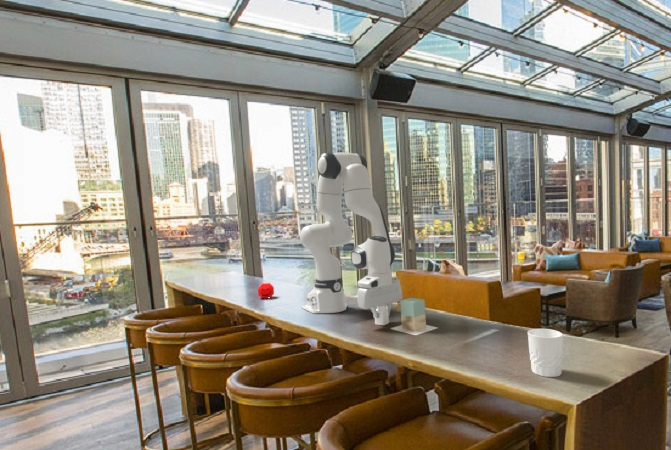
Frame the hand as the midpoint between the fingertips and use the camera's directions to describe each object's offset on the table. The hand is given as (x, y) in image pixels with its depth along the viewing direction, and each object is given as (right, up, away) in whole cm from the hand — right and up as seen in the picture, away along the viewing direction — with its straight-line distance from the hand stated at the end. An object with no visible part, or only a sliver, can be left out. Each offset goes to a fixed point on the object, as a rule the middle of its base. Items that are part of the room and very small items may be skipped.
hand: (381, 316), depth 152 cm
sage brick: (+10, +3, -8) cm, 13 cm away
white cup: (+36, -3, -49) cm, 61 cm away
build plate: (+11, -3, -8) cm, 14 cm away
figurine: (+9, -3, +17) cm, 20 cm away
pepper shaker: (0, -4, 0) cm, 4 cm away
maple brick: (+10, -2, -8) cm, 14 cm away
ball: (-54, -5, +65) cm, 85 cm away
